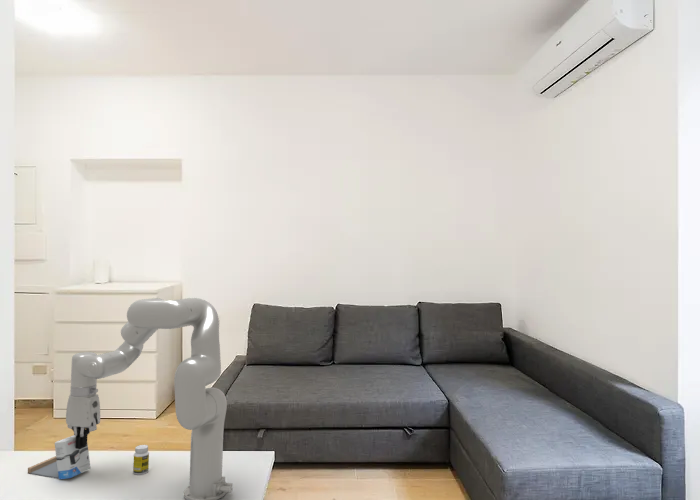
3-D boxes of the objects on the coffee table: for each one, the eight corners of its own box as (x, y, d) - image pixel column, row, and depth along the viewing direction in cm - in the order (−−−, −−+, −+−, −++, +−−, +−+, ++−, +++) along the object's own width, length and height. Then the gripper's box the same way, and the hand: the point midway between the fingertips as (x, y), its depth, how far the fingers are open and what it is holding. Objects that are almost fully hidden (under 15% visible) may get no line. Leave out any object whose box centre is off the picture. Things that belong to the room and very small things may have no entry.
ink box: (69, 478, 156) (64, 441, 157) (58, 479, 158) (53, 442, 159) (91, 468, 164) (87, 432, 165) (80, 469, 166) (75, 434, 167)
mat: (86, 465, 169) (86, 460, 169) (59, 478, 158) (59, 473, 158) (55, 461, 173) (56, 455, 173) (27, 473, 162) (27, 467, 162)
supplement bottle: (142, 475, 162) (143, 449, 162) (129, 474, 163) (130, 448, 163) (151, 470, 166) (152, 444, 167) (138, 468, 167) (139, 443, 168)
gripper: (110, 390, 163) (108, 446, 162) (74, 386, 167) (72, 441, 166) (93, 395, 156) (90, 454, 155) (55, 391, 160) (53, 448, 159)
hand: (81, 447), depth 161 cm, fingers closed
